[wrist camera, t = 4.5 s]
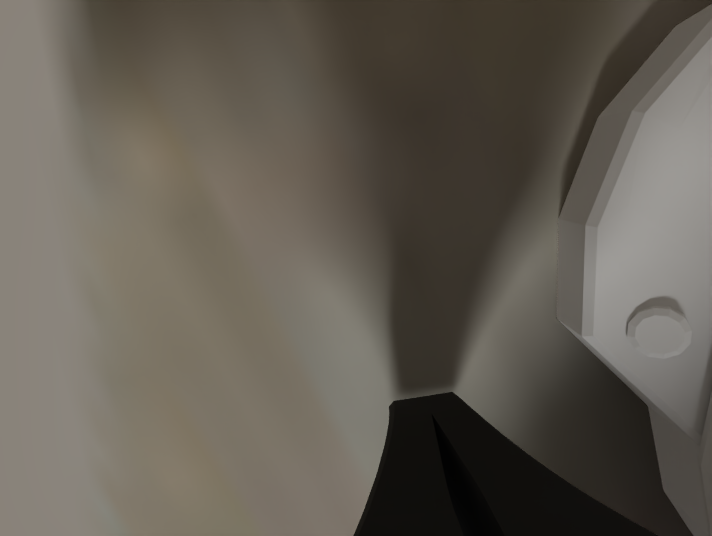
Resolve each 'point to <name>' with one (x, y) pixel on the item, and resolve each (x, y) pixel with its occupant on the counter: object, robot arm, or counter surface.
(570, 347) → the counter surface
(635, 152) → the lid
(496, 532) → the robot arm
